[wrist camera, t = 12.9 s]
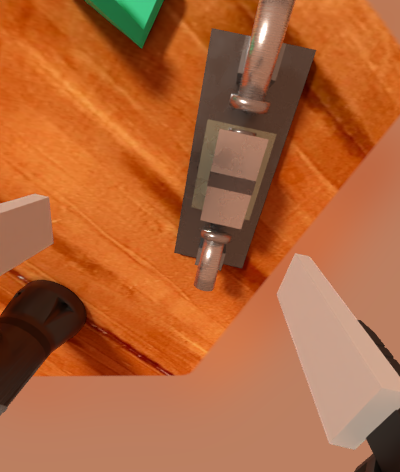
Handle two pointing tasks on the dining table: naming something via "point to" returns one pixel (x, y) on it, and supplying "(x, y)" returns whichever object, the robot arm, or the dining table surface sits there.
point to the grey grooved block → (232, 177)
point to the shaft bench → (241, 128)
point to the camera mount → (129, 16)
